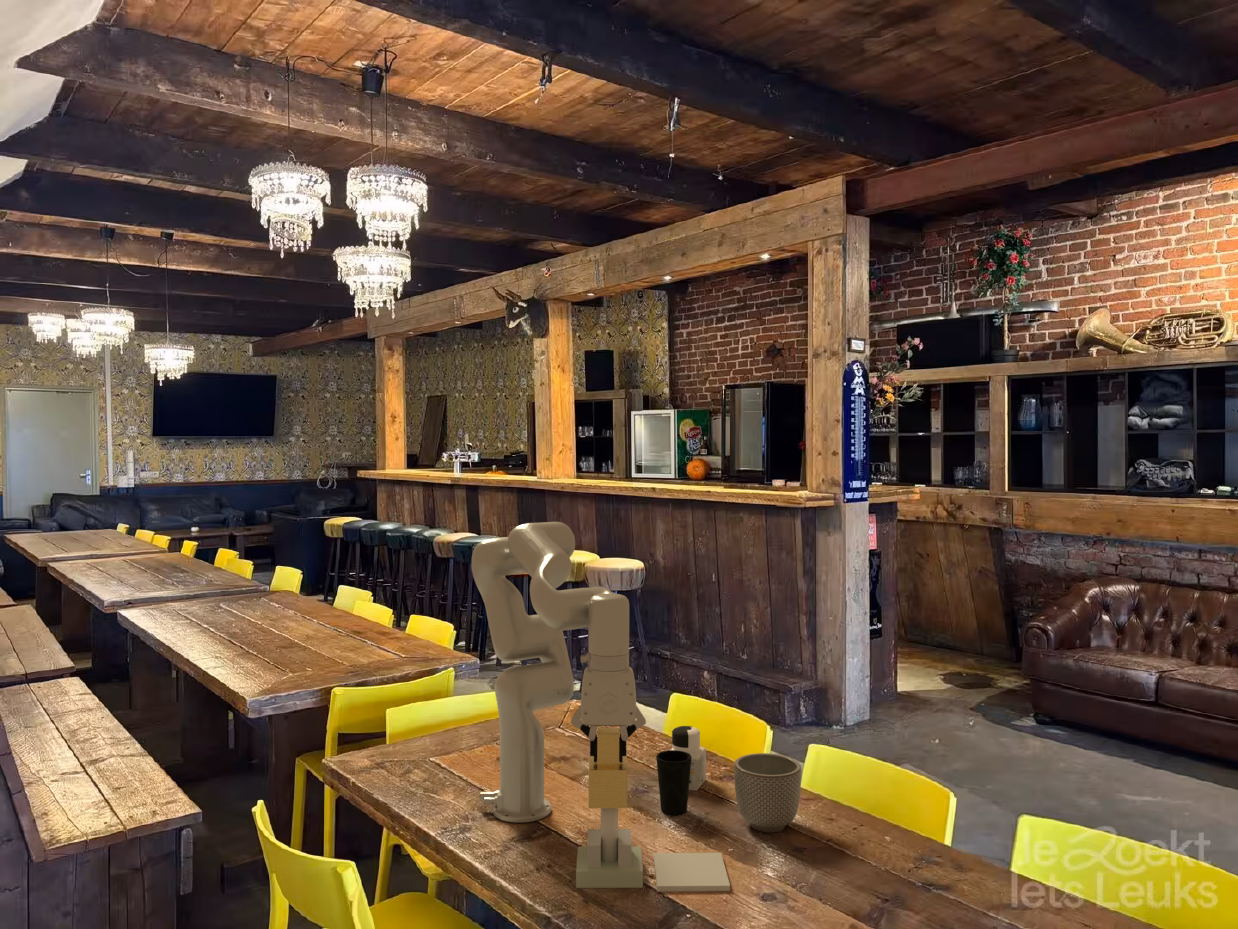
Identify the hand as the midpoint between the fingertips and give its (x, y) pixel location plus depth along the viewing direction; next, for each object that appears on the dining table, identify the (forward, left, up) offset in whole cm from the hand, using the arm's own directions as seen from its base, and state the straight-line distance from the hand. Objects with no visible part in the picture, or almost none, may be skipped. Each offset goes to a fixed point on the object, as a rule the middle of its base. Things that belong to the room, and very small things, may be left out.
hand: (608, 758), depth 166 cm
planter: (+33, +21, -22) cm, 45 cm away
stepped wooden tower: (0, 0, -8) cm, 8 cm away
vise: (0, 0, -21) cm, 21 cm away
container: (+18, +45, -22) cm, 53 cm away
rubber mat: (+15, 0, -21) cm, 26 cm away
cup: (+14, +29, -22) cm, 39 cm away
